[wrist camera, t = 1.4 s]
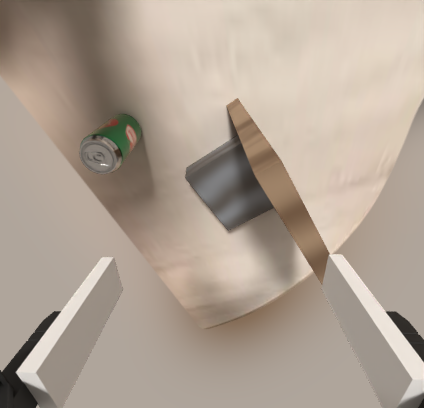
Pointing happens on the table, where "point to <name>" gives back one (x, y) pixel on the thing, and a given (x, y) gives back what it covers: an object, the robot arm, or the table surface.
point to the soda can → (110, 144)
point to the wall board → (255, 187)
